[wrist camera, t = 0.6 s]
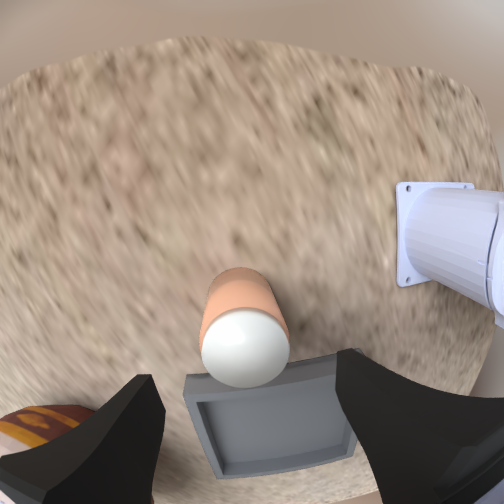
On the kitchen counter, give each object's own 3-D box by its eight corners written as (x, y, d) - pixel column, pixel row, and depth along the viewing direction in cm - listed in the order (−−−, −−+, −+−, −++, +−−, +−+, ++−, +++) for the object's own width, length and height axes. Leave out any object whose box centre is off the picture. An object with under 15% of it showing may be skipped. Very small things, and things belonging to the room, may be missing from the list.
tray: (358, 348, 20) (371, 364, 18) (345, 440, 23) (352, 456, 21) (186, 374, 20) (182, 394, 17) (217, 461, 23) (216, 479, 20)
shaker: (269, 263, 18) (291, 305, 11) (274, 322, 19) (295, 383, 12) (202, 271, 18) (188, 318, 11) (213, 330, 19) (207, 394, 12)
